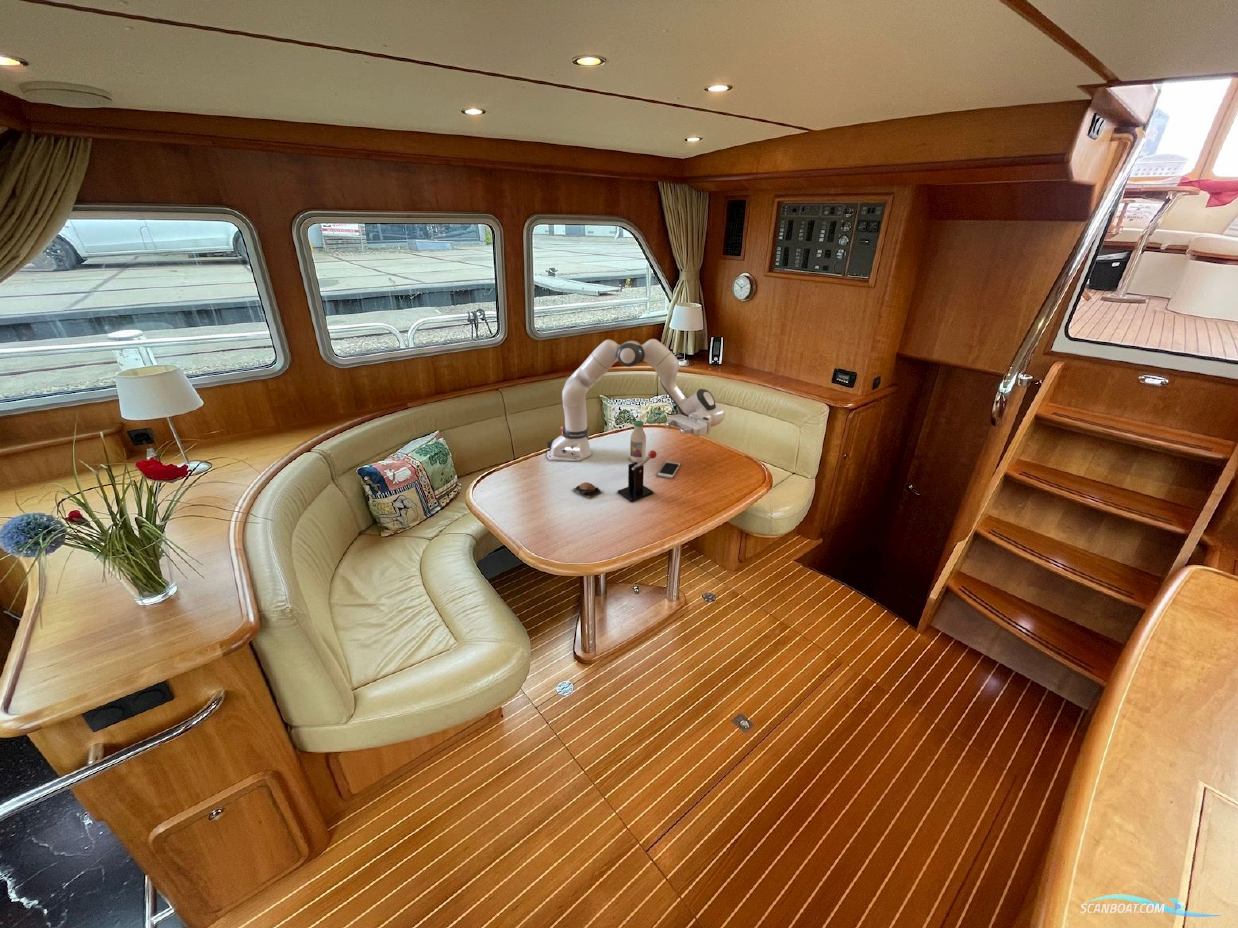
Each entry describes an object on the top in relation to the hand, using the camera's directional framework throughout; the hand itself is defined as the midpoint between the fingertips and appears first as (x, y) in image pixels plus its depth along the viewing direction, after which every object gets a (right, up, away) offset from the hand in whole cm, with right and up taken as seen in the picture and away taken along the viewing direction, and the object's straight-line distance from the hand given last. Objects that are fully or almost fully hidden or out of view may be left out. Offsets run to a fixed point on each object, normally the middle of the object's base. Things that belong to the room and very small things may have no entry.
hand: (674, 428), depth 210 cm
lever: (-13, -16, -3) cm, 20 cm away
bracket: (-17, -28, 0) cm, 33 cm away
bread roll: (-38, -28, +1) cm, 47 cm away
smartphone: (0, -19, +19) cm, 27 cm away
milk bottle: (-15, -13, +31) cm, 36 cm away
